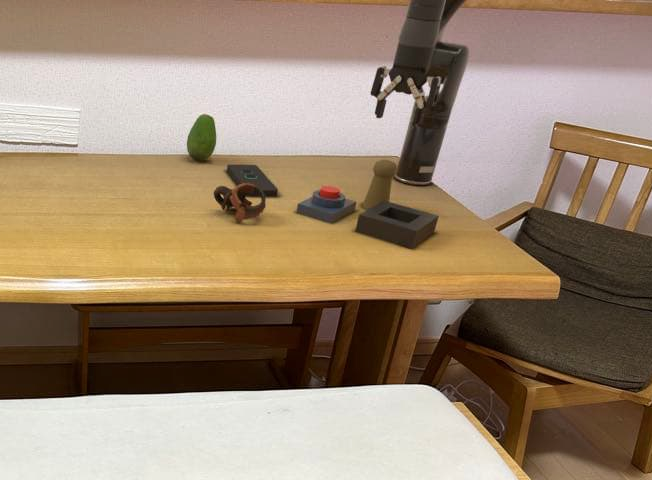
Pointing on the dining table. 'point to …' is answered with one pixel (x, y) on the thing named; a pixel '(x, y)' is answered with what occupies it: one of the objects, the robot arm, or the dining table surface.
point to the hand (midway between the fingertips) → (396, 121)
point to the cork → (380, 183)
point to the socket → (397, 224)
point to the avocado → (202, 138)
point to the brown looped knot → (240, 200)
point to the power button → (329, 192)
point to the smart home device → (252, 179)
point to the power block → (326, 207)
